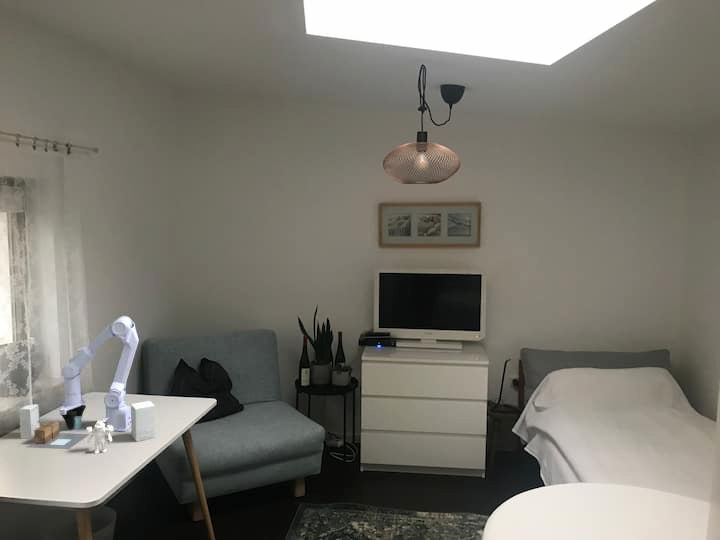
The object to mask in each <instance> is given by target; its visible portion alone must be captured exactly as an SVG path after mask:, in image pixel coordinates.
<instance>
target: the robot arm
mask: <svg viewBox="0 0 720 540" xmlns="http://www.w3.org/2000/svg"><path fill="white" fill-rule="evenodd" d="M113 337H117V338H118V339H120V340H121V342H122V343H123V348H122V351H121V355H120V358H119V361H118V365H117V367H116V368H117V369H116V371H115V375H114V378H113V381H112V383H111V385H110V388H109V391H108V392H107V394H106V395H104V399H103V402H104V403H103V404H104V406H105V418H107V417H108V419H107V420H106V421H105V428H107V426H108V425H110V426H111V425H112V427H113V432H126V431H127V430H128V429H131V405H127V404H126V401H125V398H126V396H127V391H126V387H127V380H128V377H129V374H130V370H131V368H132V365H133V361H134V359H135V354H136V351H137V348H138V345H139V342H140V341H139V337H138V333H137V329H136V324H135V322H134V321H133V320H132V319H131V318H130V316H126V315H122V316H120V317H118V318H117V319H116V320H114V321H113V322H112V323H111V324H109V325H108V326H107V327H106V328H104V329H103V330H102V331H101V332H100V333H99V334H98V335H97V337H95V339H94V340H93V341H92V342H91V343H90V344H89V345H88V346H83V347H82V348H78V350H77V351H76V354H75V355H74V356H73V357H72V358H69V359H68V363H65V364H64V365H63V366H62V369H61V375H62V377H63V389H64V391H63V392H64V402H63V403H62V404H61V405H62V407H61V408H60V409H59V415H60V416H61V417H62V418H63V419H64V422H65V426H66V425H67V428H68V429H67V430H71V429H73V428H74V420H75V416H81V418H83V416H84V415H83V414H84V412H85V409H86V407H87V406H86V403H87V398H86V397H82V392H81V391H82V390H81V389H82V387H81V385H82V384H81V383H82V382H81V372H82V370H83V369H84V368H86V366H87V365H89V363H90V362H91V361H92V360H93V359H95V357H96V351H97V350H98V349H99V348H100V347H101V346H102V345H103V344H104V343H105V342H106V341H107V340H108V339H110V338H113Z"/></svg>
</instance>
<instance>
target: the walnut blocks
mask: <svg viewBox="0 0 720 540" xmlns="http://www.w3.org/2000/svg"><path fill="white" fill-rule="evenodd" d="M59 433H60V422H59V421H47V422H46V423H44V424H42V425H40V427H39V428H37V429H35V430H34V435H35V437H34V442H35V444H46V443H48V442H49V441H51V440H52V439H54V438H56V437H57V436H59Z"/></svg>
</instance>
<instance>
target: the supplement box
mask: <svg viewBox="0 0 720 540" xmlns="http://www.w3.org/2000/svg"><path fill="white" fill-rule="evenodd" d="M130 406H131V427H130V429H131V437H132V438H133V440H134V441H135V442H142V441H147V439H148V440H152V438H153V439H156V437H157V434H156V405H155V404H154V403H153V402H152V401H151V400H146V401H142V402H136V403H135V402H134V403H131V404H130Z"/></svg>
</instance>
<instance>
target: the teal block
mask: <svg viewBox="0 0 720 540" xmlns="http://www.w3.org/2000/svg"><path fill="white" fill-rule="evenodd" d="M82 418H83V417H82ZM82 418H81V416H75V420H74V428H73V429H70V430H73V431H74V430H78V429H79V428H81V427H83V424H82ZM65 430H69V429H68V428H67V425H66V424H65Z"/></svg>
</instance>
